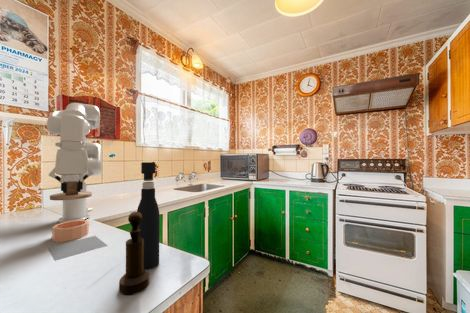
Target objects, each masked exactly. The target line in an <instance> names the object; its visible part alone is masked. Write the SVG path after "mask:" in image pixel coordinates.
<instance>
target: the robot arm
mask: <svg viewBox="0 0 470 313" xmlns="http://www.w3.org/2000/svg"><path fill="white" fill-rule="evenodd" d="M100 123H101V112H100V109H99V107H98V106H96V105H93V104H90V103H89V104H87V103H80V102H71V103H68V104H67V106H66V107H65V109H63V110H62V109H61V110H55V111H53V112H51V113H50V114H49V116H48V118H47V120H46V129H47V131H48V133H49V134H53V135H57V136H58V135H60V136H59V137H60V139H59V140H60V141H59V142H55V144H54V146H55V147H58V149H57V150H56V155H55V164H54V168H52V170H50V172H49V173H48V177H50V178H52V179H55V180H57V181H58V182H59V183H60V191H61V192H62V193H66V182H67V181H78V192H82V191H85V192H87V183H86V182H85V180H86V179H88V178H89V177H92V176H93V177H94V176H96V177H97V176H99V175H101V174H102V173H103V168H104V165H103V164H104V163H103V148H102V145H101V144H100V143H97V142H88V141H87V138H86V137H87V135H89V133H90V132H91V130H98V129H99V127H100ZM59 148H60V149H59ZM58 175H59V176H58ZM93 210H94V209H93V208H92V207H90V208H87V198H82V199H74V200H62V217H60V218H58V219H57V221H58V223H59V224H60V223H64V222H69V221H76V220H85V219H86V220H88V219H89V218H90V214H89V213H90V212H92V211H93ZM87 218H88V219H87Z"/></svg>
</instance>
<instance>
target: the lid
mask: <svg viewBox="0 0 470 313" xmlns="http://www.w3.org/2000/svg"><path fill="white" fill-rule="evenodd" d="M92 193H93V192H91V191H86V192H85V191H82V192H78V181H67V182H66V193H63V192H60V193H54V194H51V195H49V200H50V201H63V200H74V199H82V198H86V199H87V198H90V197H92V196H93V195H92Z"/></svg>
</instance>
